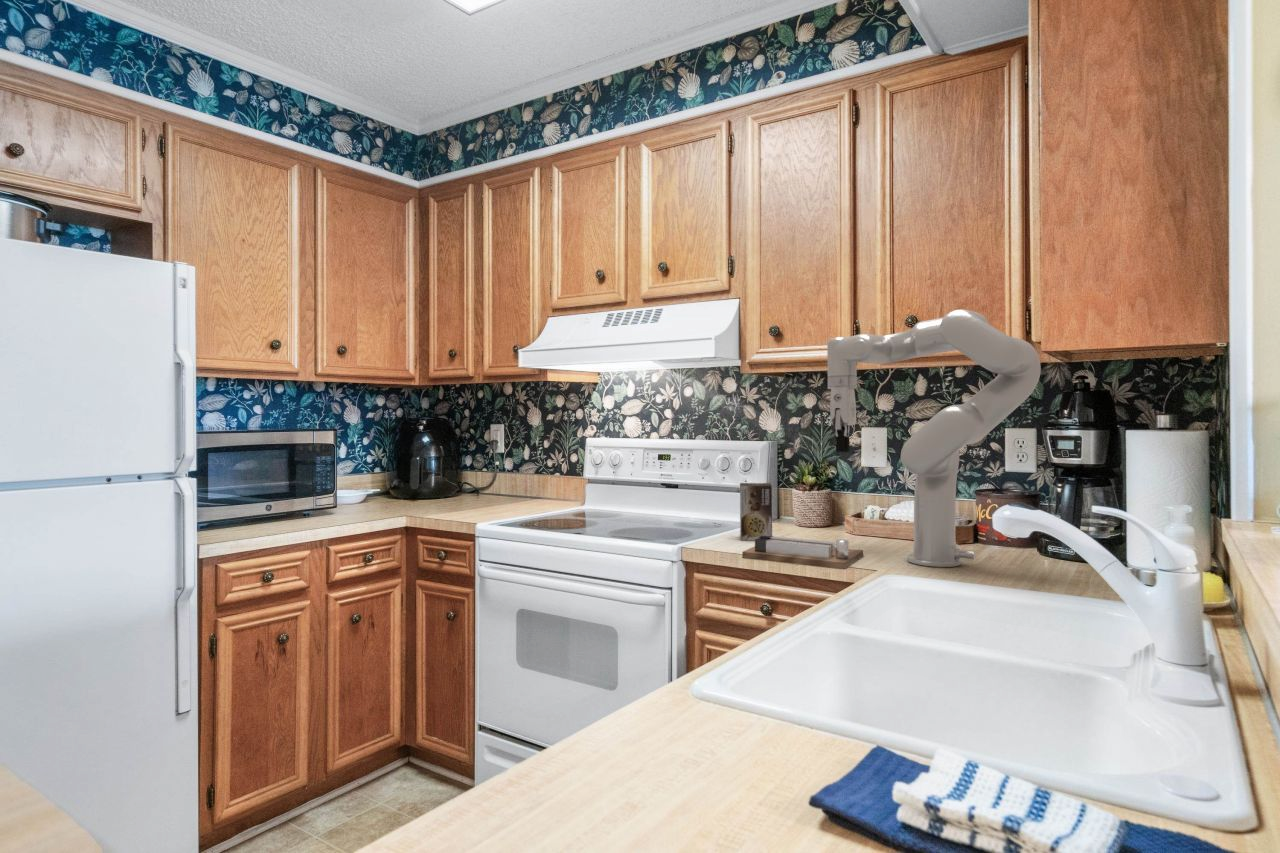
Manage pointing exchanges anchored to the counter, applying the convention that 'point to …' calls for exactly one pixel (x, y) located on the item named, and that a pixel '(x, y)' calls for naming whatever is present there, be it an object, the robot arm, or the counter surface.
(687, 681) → the counter surface
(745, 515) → the printed cardboard box
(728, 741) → the counter surface
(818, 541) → the arm
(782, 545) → the tongs fixed
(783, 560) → the cutting board
